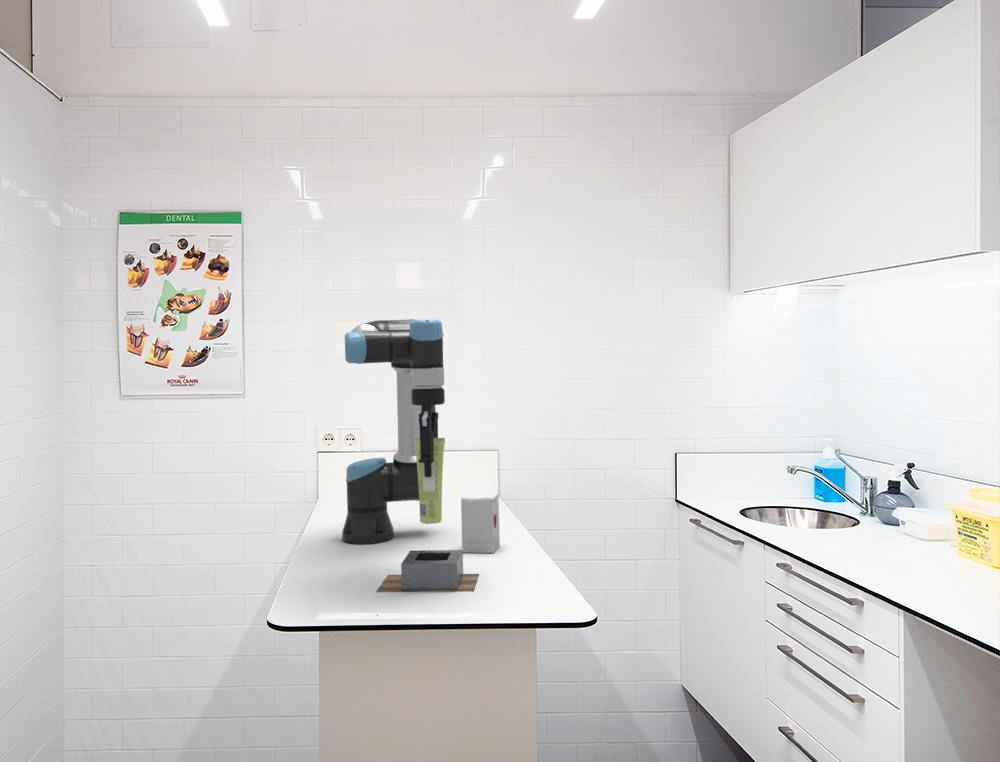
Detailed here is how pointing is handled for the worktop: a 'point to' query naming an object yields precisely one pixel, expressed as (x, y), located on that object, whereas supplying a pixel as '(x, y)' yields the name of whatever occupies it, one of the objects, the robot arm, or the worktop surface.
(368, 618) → the worktop surface
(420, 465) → the tube
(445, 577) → the collar
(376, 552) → the worktop surface
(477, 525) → the supplement box
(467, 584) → the base plate
